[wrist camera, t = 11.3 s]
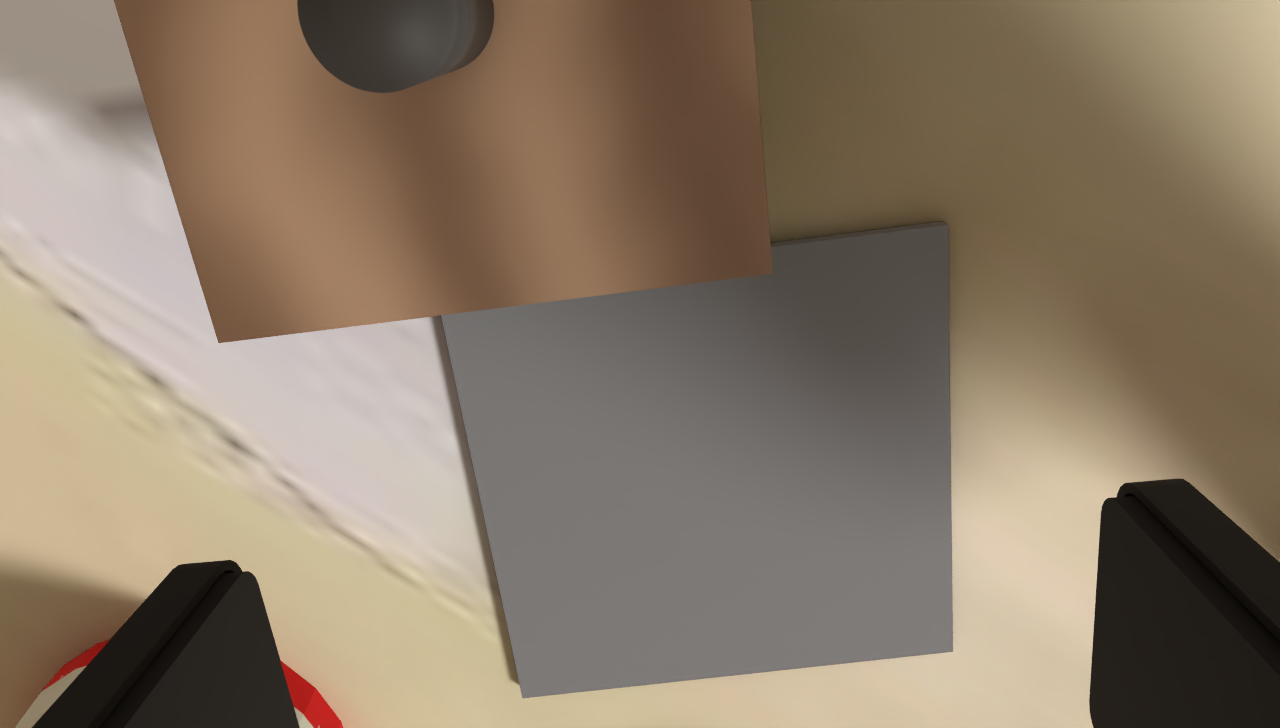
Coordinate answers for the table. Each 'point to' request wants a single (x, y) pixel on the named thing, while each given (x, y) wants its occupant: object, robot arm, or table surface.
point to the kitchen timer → (308, 703)
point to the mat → (720, 467)
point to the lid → (451, 151)
